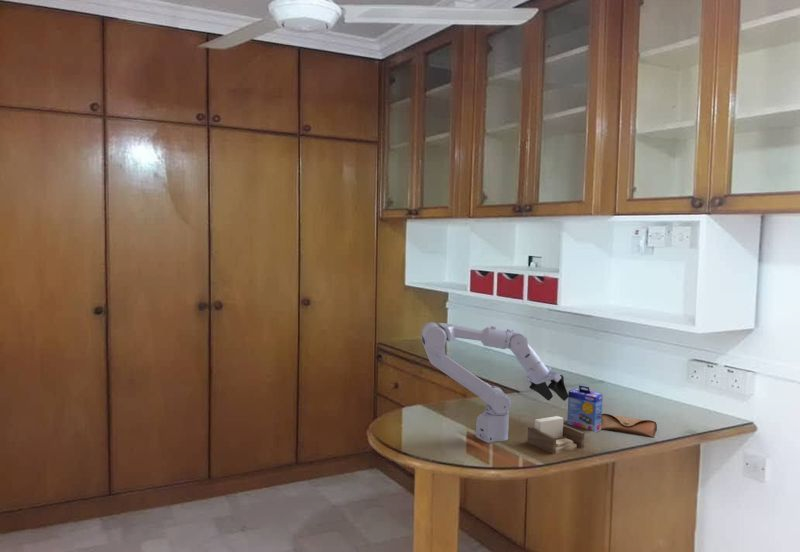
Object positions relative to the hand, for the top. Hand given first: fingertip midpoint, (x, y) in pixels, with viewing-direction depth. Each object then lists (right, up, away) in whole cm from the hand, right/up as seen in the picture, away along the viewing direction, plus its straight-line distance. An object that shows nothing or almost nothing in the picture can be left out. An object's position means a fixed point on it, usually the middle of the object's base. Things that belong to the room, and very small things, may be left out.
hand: (558, 398), depth 196 cm
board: (-4, -12, -4) cm, 13 cm away
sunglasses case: (+26, -13, +13) cm, 32 cm away
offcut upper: (-1, -12, -9) cm, 15 cm away
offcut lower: (-1, -13, -9) cm, 16 cm away
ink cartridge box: (+12, -13, +13) cm, 21 cm away
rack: (-3, -14, -6) cm, 15 cm away
